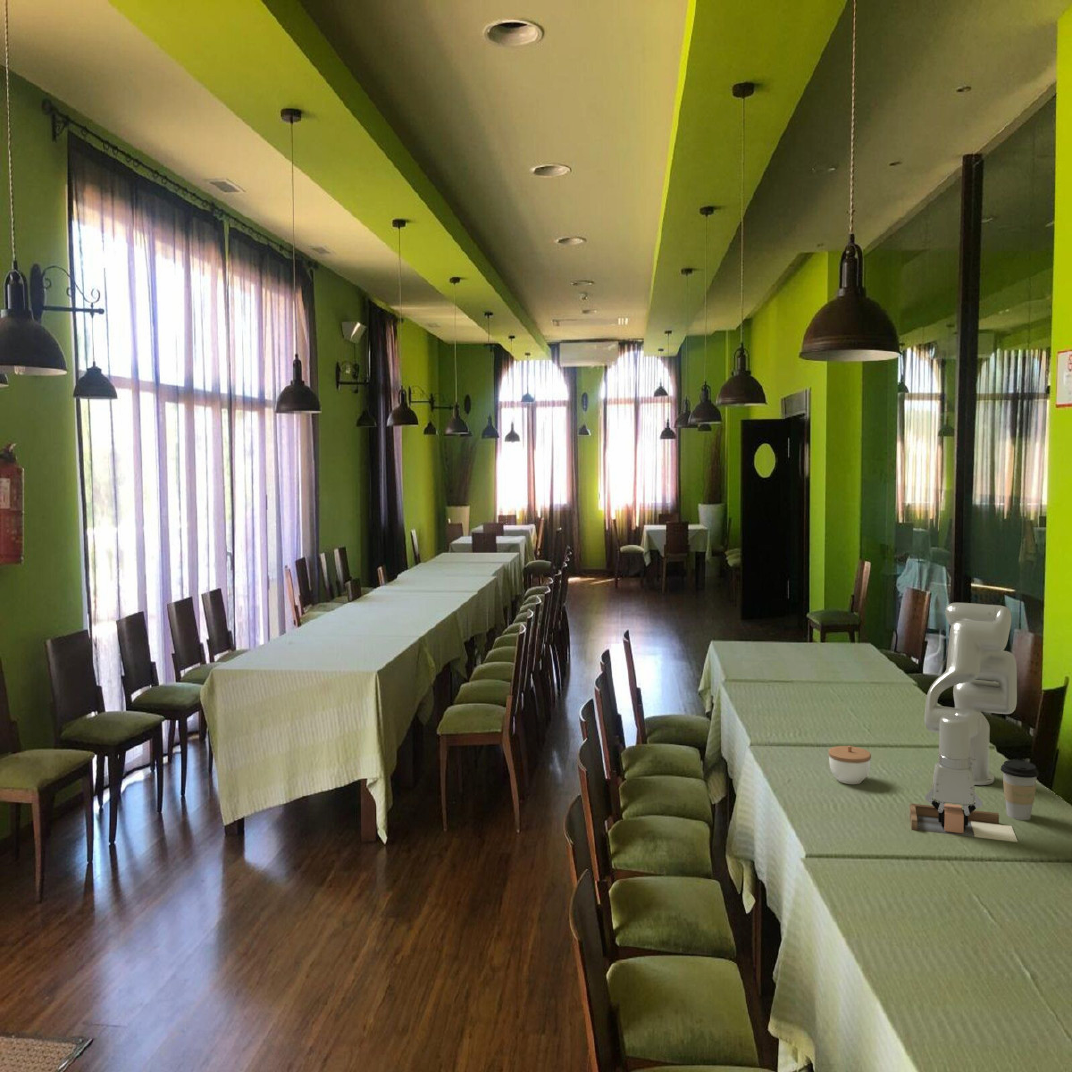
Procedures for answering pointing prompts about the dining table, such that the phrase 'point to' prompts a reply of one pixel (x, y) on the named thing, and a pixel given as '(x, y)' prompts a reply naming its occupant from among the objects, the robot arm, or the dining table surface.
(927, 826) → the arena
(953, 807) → the block
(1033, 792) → the coffee cup
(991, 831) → the pad
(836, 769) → the lidded bowl
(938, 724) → the robot arm
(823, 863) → the dining table surface
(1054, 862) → the dining table surface
